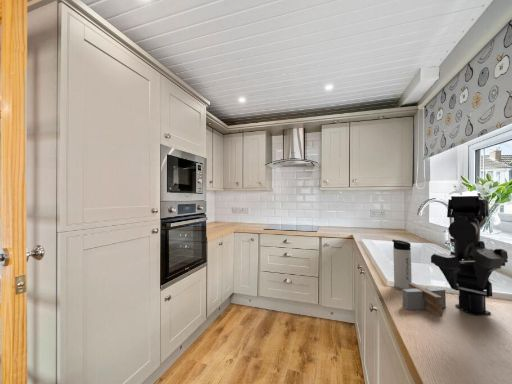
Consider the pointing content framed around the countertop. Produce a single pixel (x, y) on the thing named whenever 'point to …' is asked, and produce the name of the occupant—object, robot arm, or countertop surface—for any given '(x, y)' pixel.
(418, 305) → the base plate
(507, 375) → the countertop surface
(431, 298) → the cross plate
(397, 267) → the travel mug
